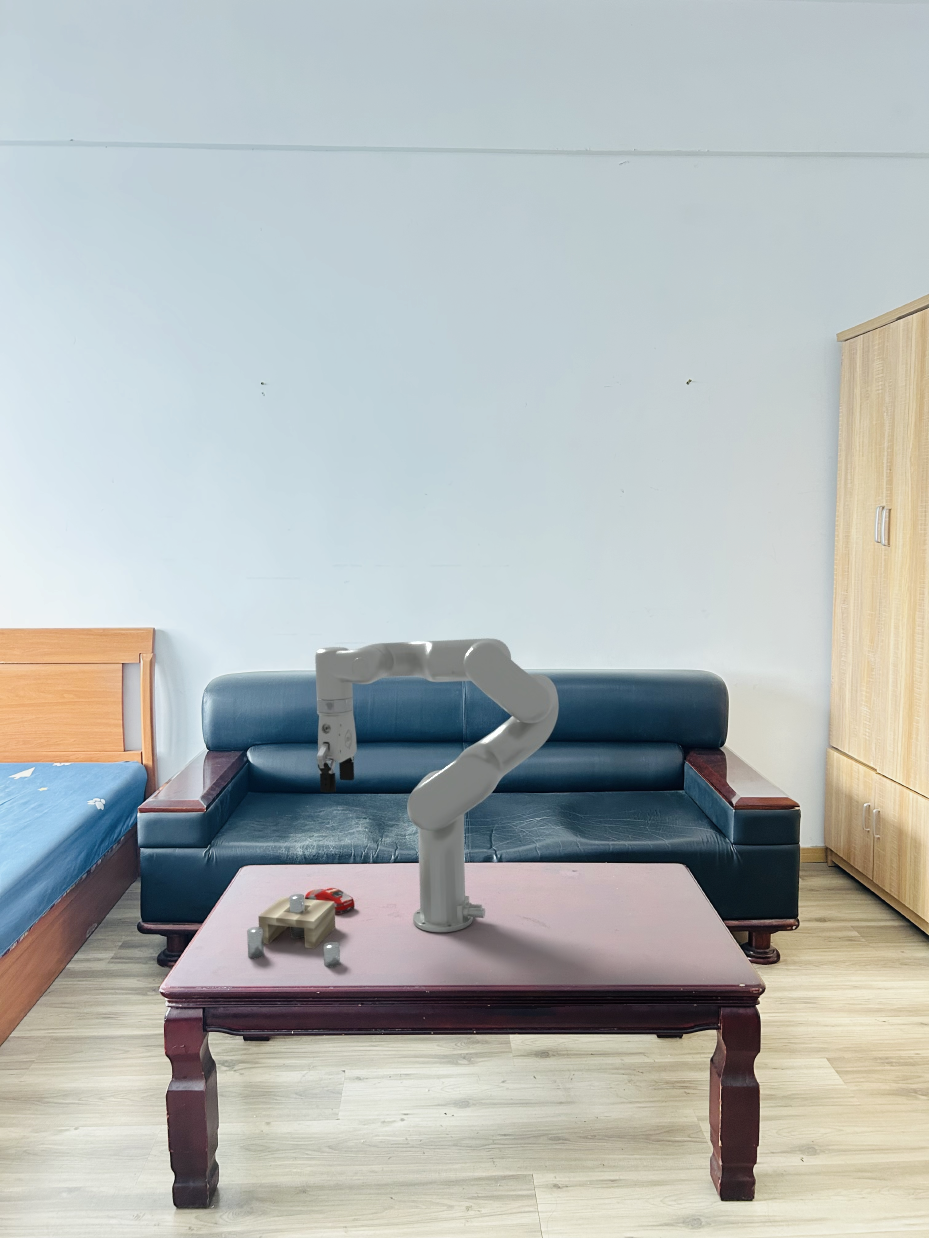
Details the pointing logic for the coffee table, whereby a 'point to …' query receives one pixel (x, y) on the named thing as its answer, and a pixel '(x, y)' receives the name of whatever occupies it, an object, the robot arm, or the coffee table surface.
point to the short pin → (331, 954)
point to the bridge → (299, 920)
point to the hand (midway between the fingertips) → (337, 785)
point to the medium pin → (255, 942)
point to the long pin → (297, 907)
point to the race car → (333, 898)
